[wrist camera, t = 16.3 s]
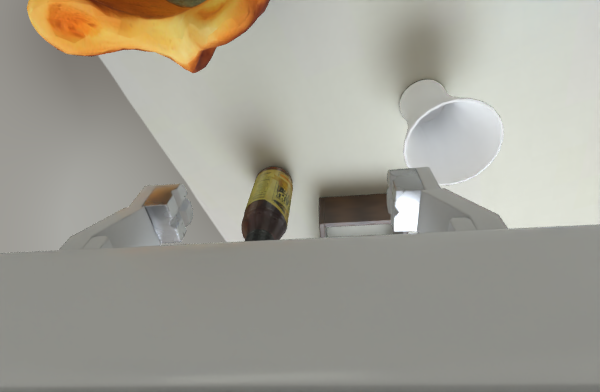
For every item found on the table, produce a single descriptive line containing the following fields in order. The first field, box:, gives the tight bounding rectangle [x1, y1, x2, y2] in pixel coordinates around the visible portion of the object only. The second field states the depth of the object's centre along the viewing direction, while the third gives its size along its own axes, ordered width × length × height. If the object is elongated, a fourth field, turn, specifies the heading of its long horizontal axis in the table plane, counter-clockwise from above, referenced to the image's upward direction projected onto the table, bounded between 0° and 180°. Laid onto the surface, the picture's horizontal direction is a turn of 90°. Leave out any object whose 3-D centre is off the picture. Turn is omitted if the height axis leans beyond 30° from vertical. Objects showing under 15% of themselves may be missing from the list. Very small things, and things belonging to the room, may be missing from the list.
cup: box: [399, 80, 504, 185], centre depth 43 cm, size 10×10×14 cm
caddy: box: [319, 194, 409, 238], centre depth 59 cm, size 14×14×7 cm
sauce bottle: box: [242, 167, 293, 241], centre depth 49 cm, size 7×6×20 cm
